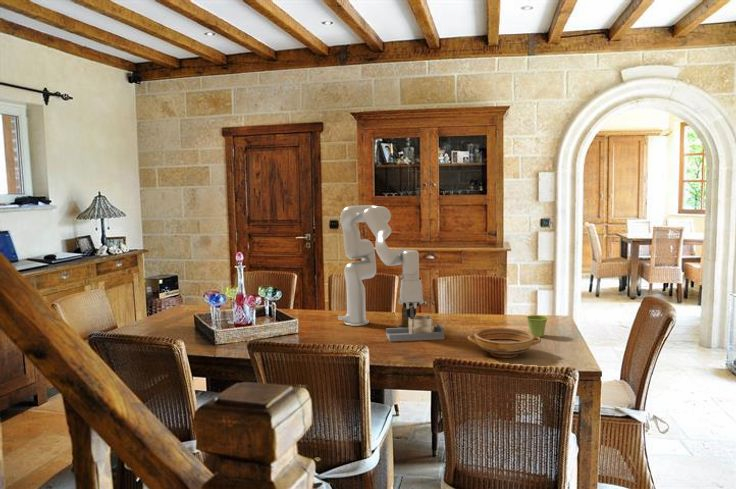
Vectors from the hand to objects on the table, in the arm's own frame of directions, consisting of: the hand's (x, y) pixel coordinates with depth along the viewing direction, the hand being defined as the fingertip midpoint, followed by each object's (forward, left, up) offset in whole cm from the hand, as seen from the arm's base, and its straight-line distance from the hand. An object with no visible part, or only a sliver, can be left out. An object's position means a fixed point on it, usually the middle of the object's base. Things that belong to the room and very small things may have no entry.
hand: (411, 316), depth 266 cm
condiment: (+1, +20, -10) cm, 22 cm away
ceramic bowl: (+33, -32, -10) cm, 47 cm away
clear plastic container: (+4, 0, -9) cm, 10 cm away
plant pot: (+57, -7, -10) cm, 58 cm away
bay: (+2, 0, -10) cm, 10 cm away
